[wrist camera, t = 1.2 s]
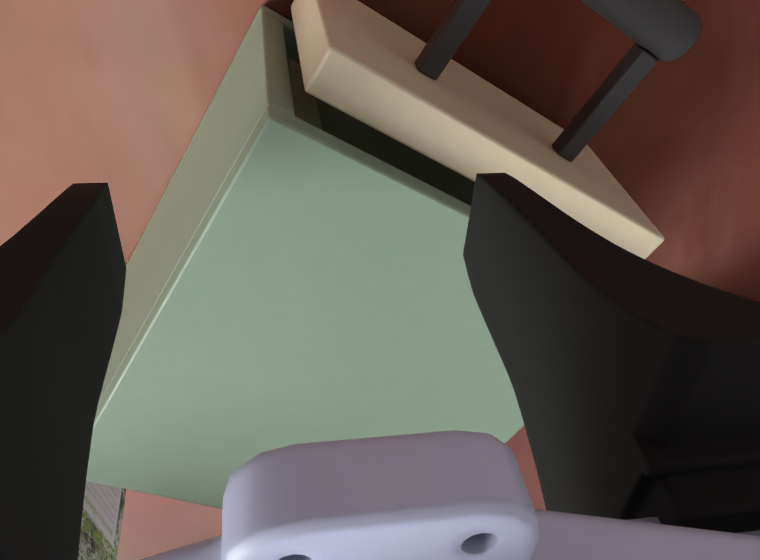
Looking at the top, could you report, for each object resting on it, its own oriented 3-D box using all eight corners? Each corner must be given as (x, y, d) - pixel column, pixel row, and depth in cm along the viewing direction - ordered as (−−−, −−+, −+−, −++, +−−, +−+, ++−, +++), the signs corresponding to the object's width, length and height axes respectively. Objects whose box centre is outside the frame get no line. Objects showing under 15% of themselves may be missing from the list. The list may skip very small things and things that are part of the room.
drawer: (408, -213, 17) (469, -191, 12) (691, 21, 22) (809, 98, 17) (141, 281, 25) (119, 405, 20) (393, 368, 30) (421, 484, 25)
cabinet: (261, 3, 20) (269, 115, 14) (558, 175, 26) (651, 306, 20) (102, 311, 26) (62, 477, 20) (369, 396, 32) (397, 545, 26)
